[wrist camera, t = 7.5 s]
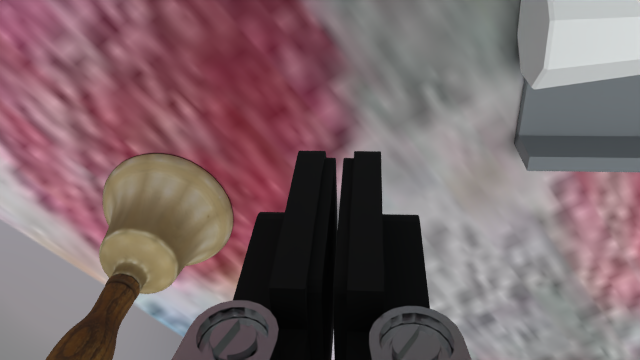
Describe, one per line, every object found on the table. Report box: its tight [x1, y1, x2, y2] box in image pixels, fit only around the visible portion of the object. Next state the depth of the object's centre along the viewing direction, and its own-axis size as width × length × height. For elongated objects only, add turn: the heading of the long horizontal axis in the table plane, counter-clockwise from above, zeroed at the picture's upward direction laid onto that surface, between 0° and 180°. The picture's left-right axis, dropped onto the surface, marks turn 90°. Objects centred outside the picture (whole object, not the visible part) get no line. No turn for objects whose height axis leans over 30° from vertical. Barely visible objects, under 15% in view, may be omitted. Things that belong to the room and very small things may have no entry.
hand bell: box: [46, 154, 233, 360], centre depth 28 cm, size 8×8×16 cm
